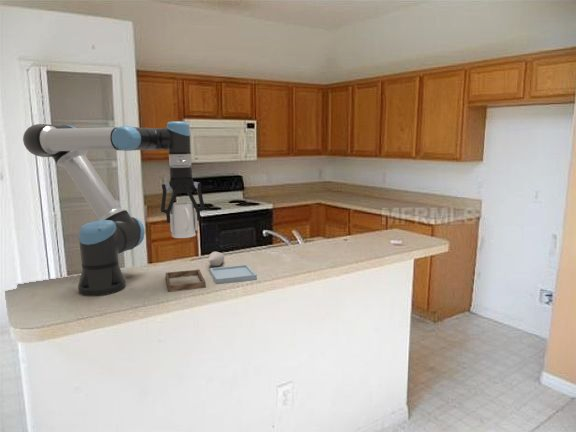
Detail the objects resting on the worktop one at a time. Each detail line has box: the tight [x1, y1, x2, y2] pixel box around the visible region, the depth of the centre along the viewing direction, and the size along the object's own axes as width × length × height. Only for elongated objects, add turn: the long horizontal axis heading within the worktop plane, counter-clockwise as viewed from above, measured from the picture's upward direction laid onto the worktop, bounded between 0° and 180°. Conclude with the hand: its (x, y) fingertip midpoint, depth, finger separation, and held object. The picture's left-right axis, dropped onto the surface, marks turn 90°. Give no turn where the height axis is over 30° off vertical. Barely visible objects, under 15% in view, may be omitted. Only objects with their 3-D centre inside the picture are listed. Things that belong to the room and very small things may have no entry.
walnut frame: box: [165, 268, 207, 293], centre depth 155 cm, size 13×17×2 cm
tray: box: [209, 264, 258, 285], centre depth 162 cm, size 15×15×2 cm
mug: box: [170, 201, 197, 239], centre depth 152 cm, size 12×8×12 cm
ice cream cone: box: [207, 251, 225, 267], centre depth 175 cm, size 6×6×15 cm
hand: (184, 230), depth 152 cm, fingers closed on mug, 8 cm apart
